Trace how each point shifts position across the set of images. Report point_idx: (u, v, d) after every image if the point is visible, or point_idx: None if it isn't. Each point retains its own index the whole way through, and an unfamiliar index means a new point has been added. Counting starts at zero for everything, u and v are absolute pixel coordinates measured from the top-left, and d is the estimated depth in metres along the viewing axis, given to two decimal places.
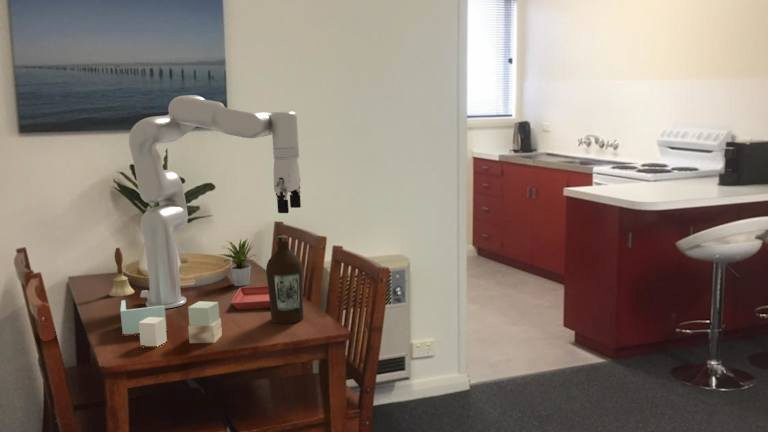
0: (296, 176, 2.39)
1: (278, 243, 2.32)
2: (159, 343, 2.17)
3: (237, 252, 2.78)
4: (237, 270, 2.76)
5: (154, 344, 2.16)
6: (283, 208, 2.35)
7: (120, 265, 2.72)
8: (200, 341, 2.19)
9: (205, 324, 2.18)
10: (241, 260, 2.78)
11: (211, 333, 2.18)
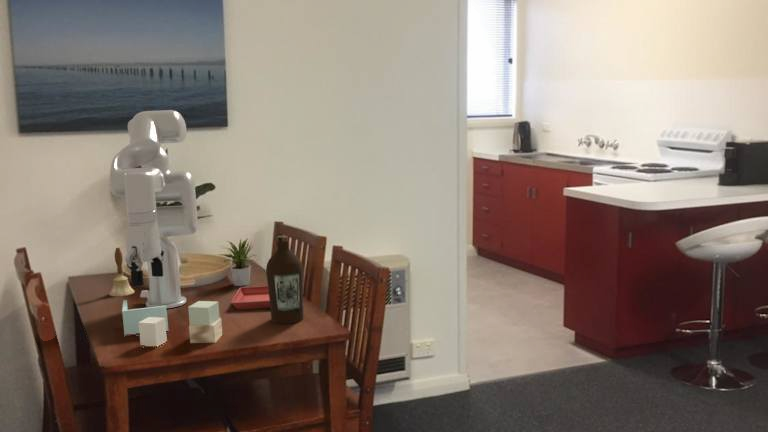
0: (154, 243, 2.14)
1: (278, 243, 2.32)
2: (159, 343, 2.17)
3: (237, 252, 2.78)
4: (237, 270, 2.76)
5: (154, 344, 2.16)
6: (137, 280, 2.10)
7: (120, 265, 2.72)
8: (201, 341, 2.19)
9: (205, 324, 2.18)
10: (241, 260, 2.78)
11: (212, 332, 2.18)
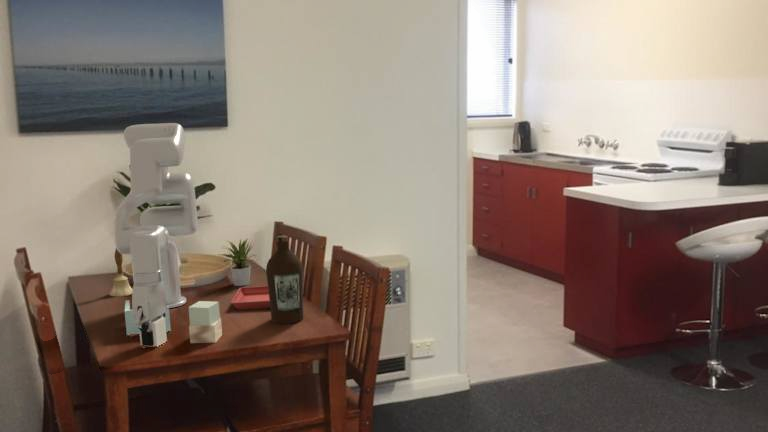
0: (160, 301, 2.17)
1: (278, 243, 2.32)
2: (159, 343, 2.17)
3: (237, 252, 2.78)
4: (237, 270, 2.76)
5: (154, 344, 2.16)
6: (147, 341, 2.14)
7: (120, 265, 2.72)
8: (201, 341, 2.19)
9: (206, 324, 2.18)
10: (241, 260, 2.78)
11: (212, 332, 2.18)
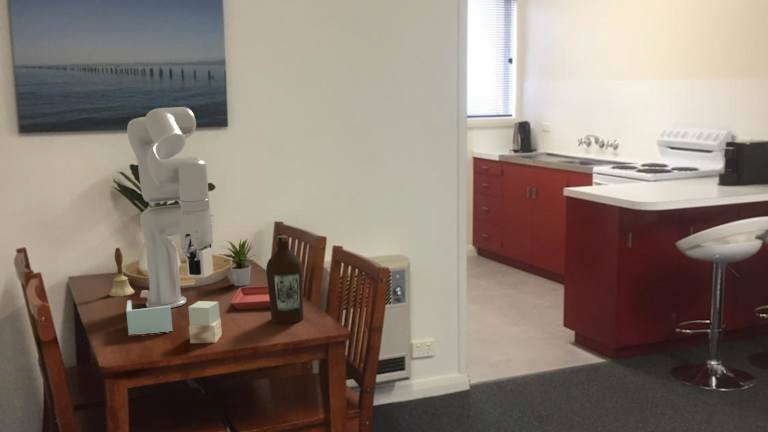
0: (207, 231, 2.17)
1: (278, 243, 2.32)
2: (206, 272, 2.17)
3: (237, 252, 2.78)
4: (237, 270, 2.76)
5: (202, 273, 2.16)
6: (194, 269, 2.15)
7: (120, 265, 2.72)
8: (201, 341, 2.19)
9: (205, 324, 2.18)
10: (241, 260, 2.78)
11: (212, 332, 2.18)
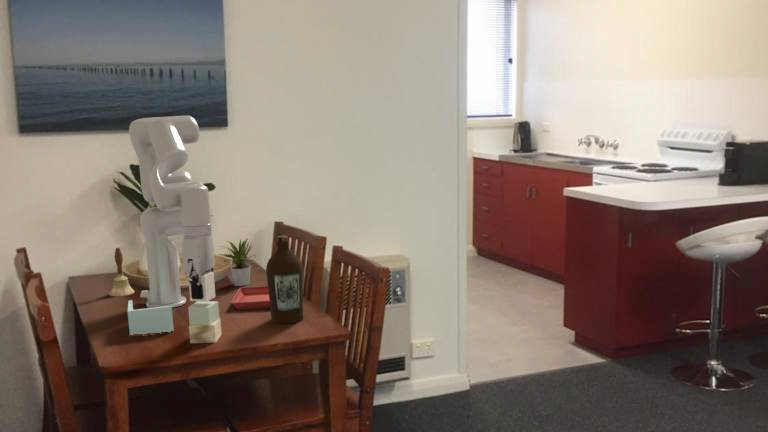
0: (209, 255, 2.18)
1: (278, 243, 2.32)
2: (208, 297, 2.18)
3: (237, 252, 2.78)
4: (237, 270, 2.76)
5: (204, 298, 2.17)
6: (197, 294, 2.16)
7: (120, 265, 2.72)
8: (201, 341, 2.19)
9: (205, 323, 2.18)
10: (241, 260, 2.78)
11: (212, 332, 2.18)
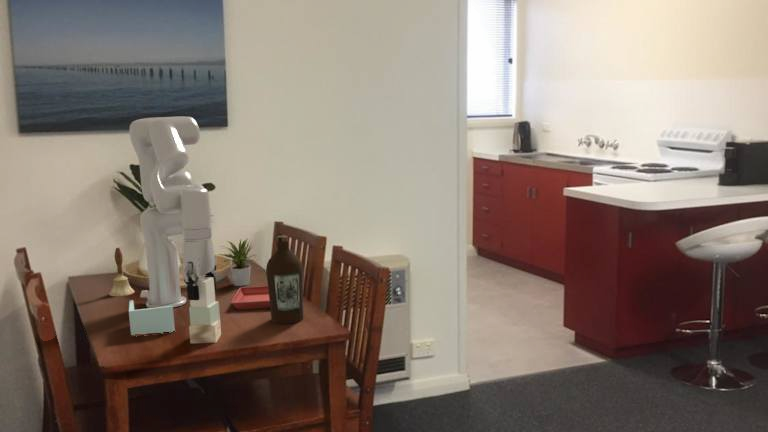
0: (209, 258, 2.18)
1: (278, 243, 2.32)
2: (209, 302, 2.18)
3: (237, 252, 2.78)
4: (237, 270, 2.76)
5: (204, 303, 2.17)
6: (193, 295, 2.14)
7: (120, 265, 2.72)
8: (201, 341, 2.18)
9: (207, 323, 2.18)
10: (241, 260, 2.78)
11: (212, 332, 2.18)
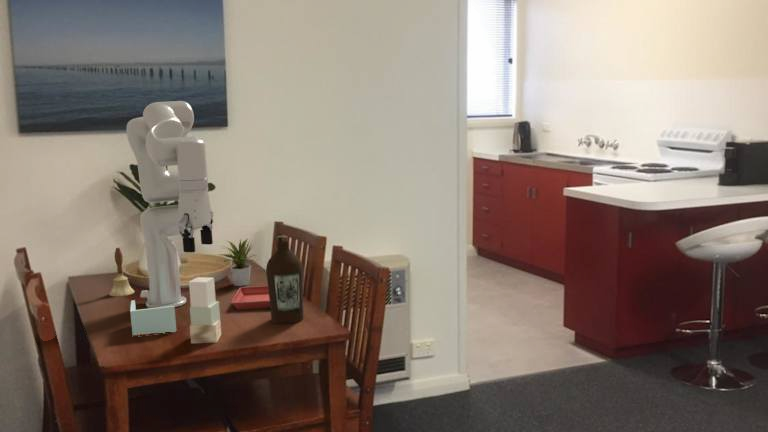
0: (205, 211, 2.16)
1: (278, 243, 2.32)
2: (209, 302, 2.18)
3: (237, 252, 2.78)
4: (237, 270, 2.76)
5: (205, 304, 2.17)
6: (189, 247, 2.12)
7: (120, 265, 2.72)
8: (202, 341, 2.18)
9: (207, 323, 2.18)
10: (241, 260, 2.78)
11: (213, 332, 2.18)
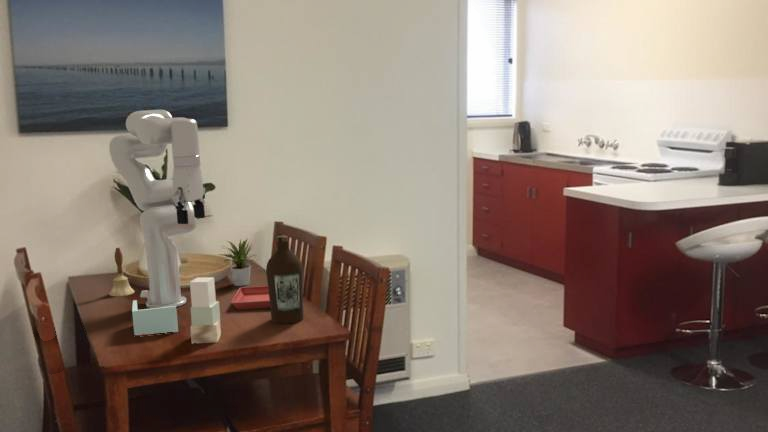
0: (198, 186, 2.32)
1: (278, 243, 2.32)
2: (210, 302, 2.18)
3: (237, 252, 2.78)
4: (237, 270, 2.76)
5: (206, 303, 2.17)
6: (182, 219, 2.28)
7: (120, 265, 2.72)
8: (203, 341, 2.18)
9: (209, 323, 2.18)
10: (241, 260, 2.78)
11: (214, 332, 2.18)
